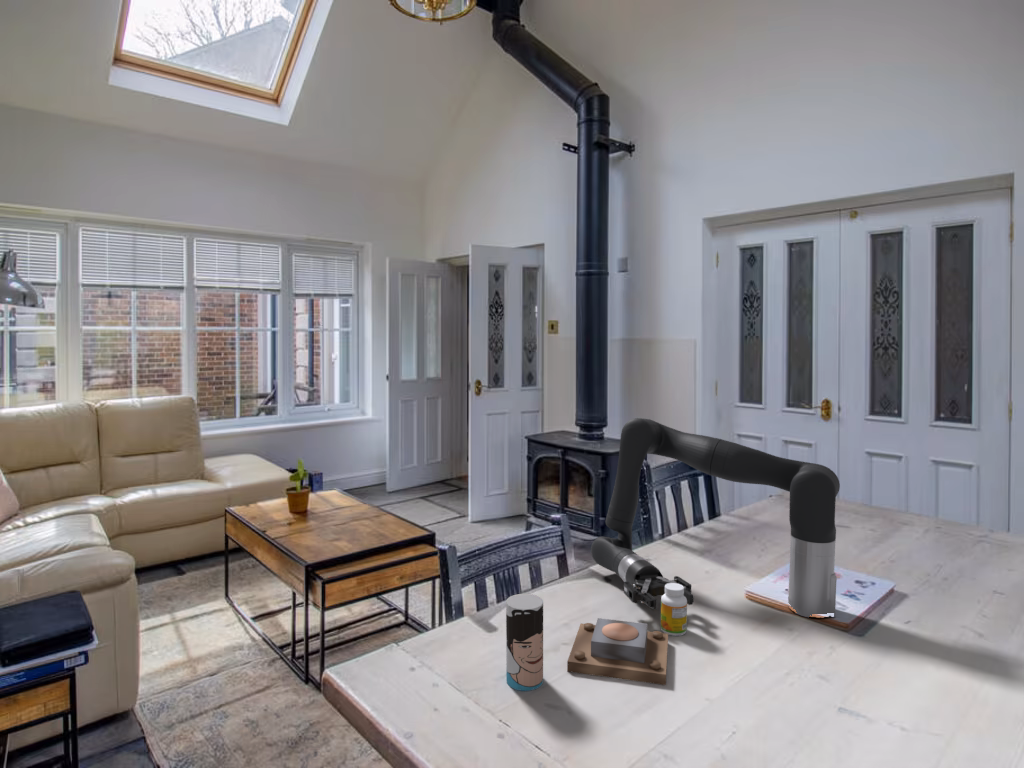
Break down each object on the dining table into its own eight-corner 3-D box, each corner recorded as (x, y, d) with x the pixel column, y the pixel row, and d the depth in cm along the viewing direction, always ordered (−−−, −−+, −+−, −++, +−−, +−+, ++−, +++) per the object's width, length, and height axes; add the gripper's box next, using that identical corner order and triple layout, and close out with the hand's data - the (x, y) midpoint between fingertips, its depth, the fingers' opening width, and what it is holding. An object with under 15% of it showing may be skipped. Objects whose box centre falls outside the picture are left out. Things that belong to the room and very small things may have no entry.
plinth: (667, 643, 130) (668, 618, 130) (665, 685, 115) (666, 657, 114) (580, 632, 135) (580, 608, 134) (567, 671, 119) (567, 644, 119)
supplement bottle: (657, 625, 138) (657, 581, 137) (681, 624, 139) (682, 581, 138) (665, 637, 133) (666, 592, 132) (690, 636, 133) (691, 591, 132)
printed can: (510, 693, 112) (510, 611, 111) (502, 673, 119) (502, 595, 118) (547, 688, 114) (547, 607, 113) (537, 668, 120) (537, 592, 119)
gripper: (611, 562, 149) (643, 589, 133) (666, 556, 153) (703, 582, 137) (611, 593, 150) (642, 623, 134) (666, 586, 153) (702, 615, 137)
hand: (673, 602), depth 135 cm, fingers open, 8 cm apart
